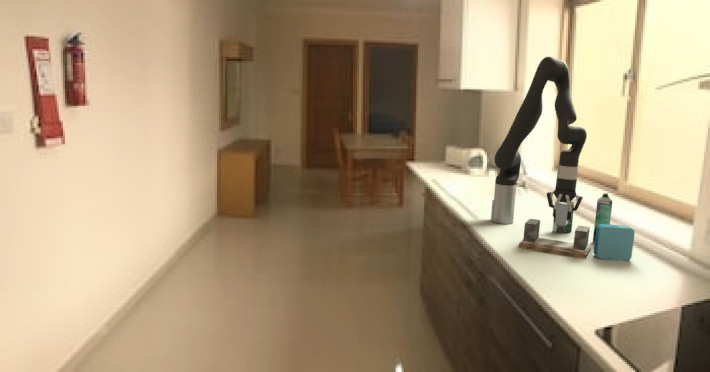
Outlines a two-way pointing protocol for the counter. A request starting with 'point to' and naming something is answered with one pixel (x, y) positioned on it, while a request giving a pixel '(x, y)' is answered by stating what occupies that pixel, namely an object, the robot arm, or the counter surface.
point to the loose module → (561, 214)
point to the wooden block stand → (555, 241)
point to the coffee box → (563, 228)
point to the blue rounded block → (614, 242)
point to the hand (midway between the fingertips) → (561, 219)
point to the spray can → (602, 212)
